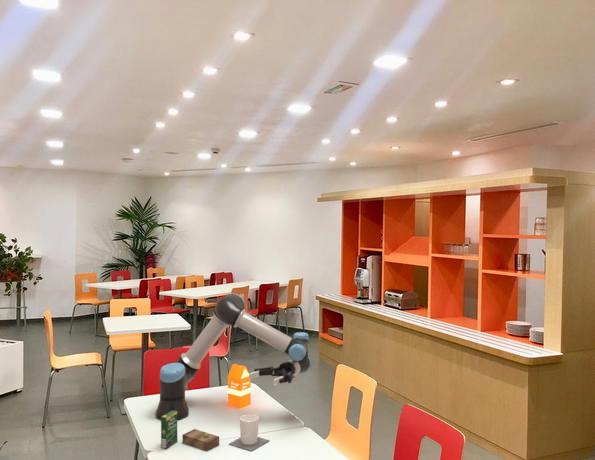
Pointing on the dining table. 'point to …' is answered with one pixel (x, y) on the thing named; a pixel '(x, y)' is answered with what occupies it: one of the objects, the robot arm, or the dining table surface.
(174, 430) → the coffee box
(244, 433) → the white cup
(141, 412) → the dining table surface
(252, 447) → the mat
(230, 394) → the orange juice
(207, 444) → the walnut block
